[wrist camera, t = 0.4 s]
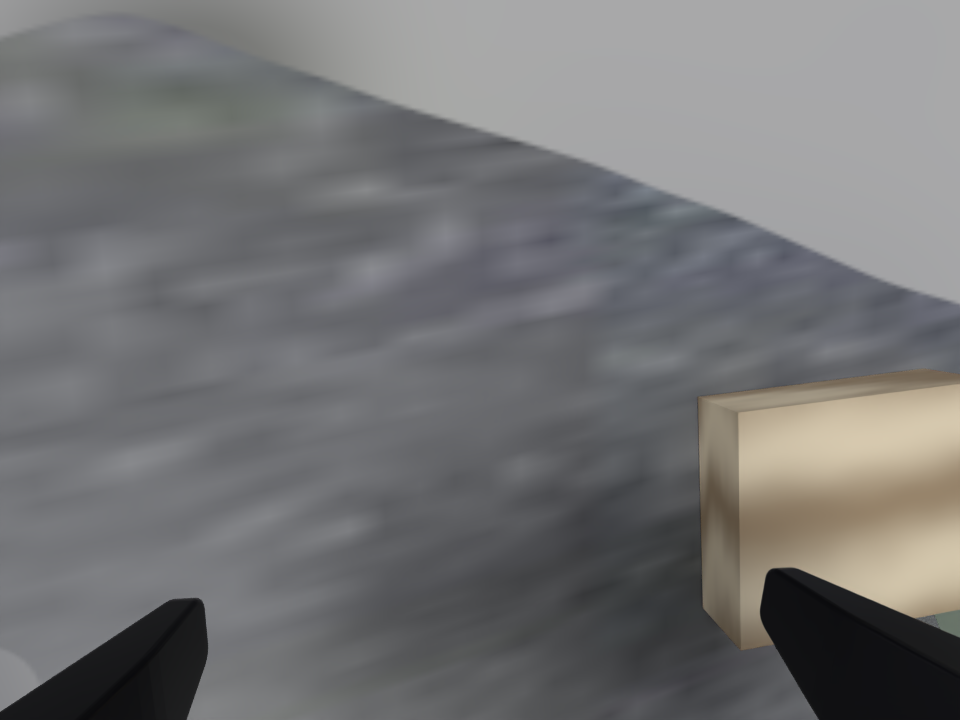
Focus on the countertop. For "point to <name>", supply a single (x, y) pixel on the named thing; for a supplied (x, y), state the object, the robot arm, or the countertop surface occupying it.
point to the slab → (832, 493)
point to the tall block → (949, 622)
